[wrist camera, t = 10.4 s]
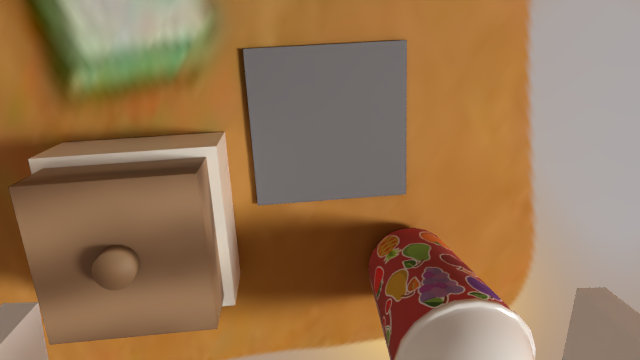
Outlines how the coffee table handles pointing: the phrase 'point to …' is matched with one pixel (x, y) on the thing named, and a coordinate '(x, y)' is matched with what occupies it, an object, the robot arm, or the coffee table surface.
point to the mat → (327, 120)
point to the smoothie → (440, 304)
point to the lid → (121, 248)
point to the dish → (166, 150)
